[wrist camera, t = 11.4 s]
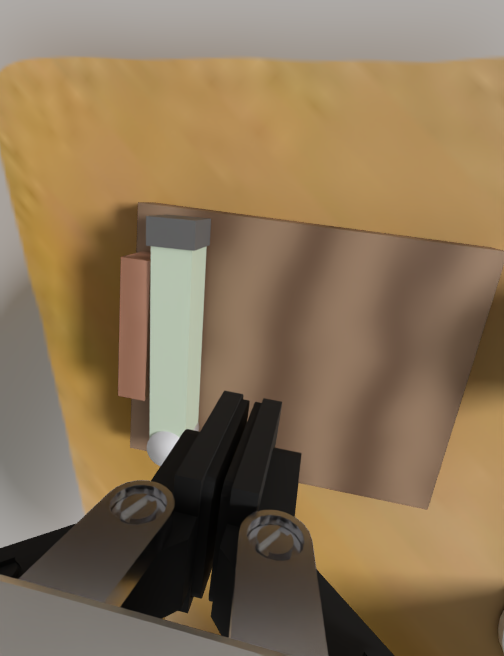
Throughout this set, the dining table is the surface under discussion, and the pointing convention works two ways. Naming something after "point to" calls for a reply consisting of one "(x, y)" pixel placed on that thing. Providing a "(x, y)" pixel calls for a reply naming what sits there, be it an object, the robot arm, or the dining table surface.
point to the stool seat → (327, 342)
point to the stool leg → (175, 326)
